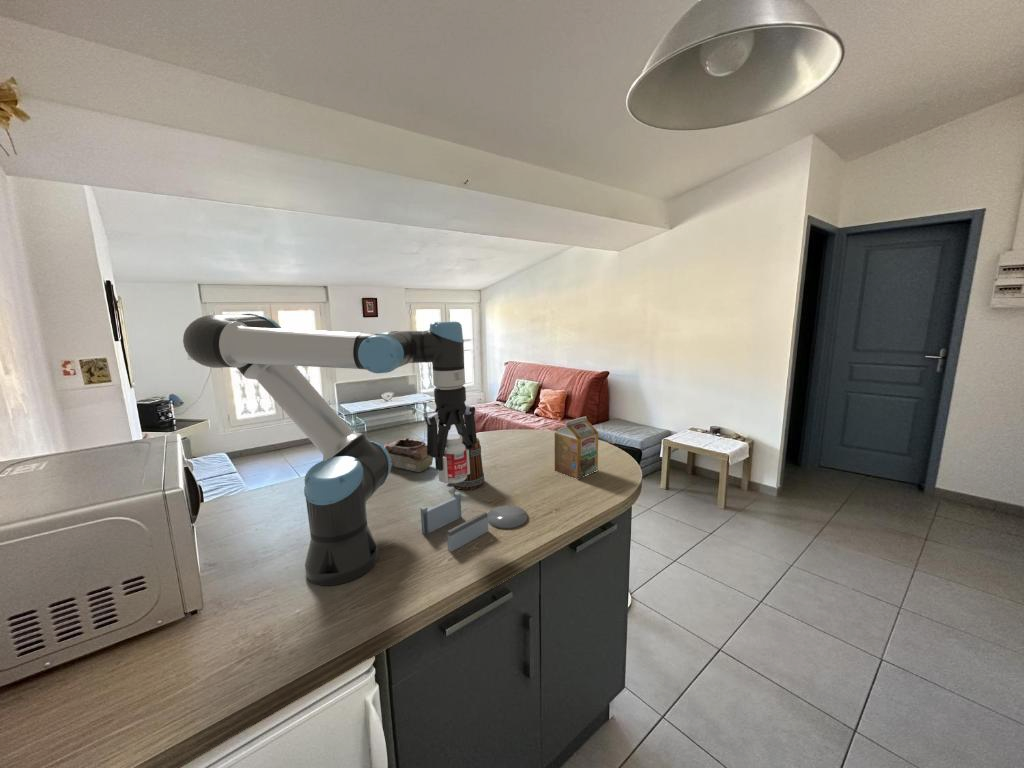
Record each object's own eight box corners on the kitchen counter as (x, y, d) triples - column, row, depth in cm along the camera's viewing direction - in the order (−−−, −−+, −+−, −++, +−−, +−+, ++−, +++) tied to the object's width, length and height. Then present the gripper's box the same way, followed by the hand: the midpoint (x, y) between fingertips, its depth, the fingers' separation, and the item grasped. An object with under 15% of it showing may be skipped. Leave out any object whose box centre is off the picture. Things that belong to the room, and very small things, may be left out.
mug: (486, 477, 134) (485, 435, 132) (481, 491, 124) (479, 445, 121) (442, 476, 136) (440, 434, 133) (433, 489, 126) (430, 445, 123)
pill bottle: (457, 486, 94) (454, 441, 92) (437, 481, 97) (434, 438, 95) (472, 476, 100) (470, 434, 98) (452, 472, 103) (450, 431, 101)
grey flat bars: (451, 552, 92) (449, 524, 91) (422, 533, 101) (420, 508, 99) (488, 531, 101) (487, 505, 100) (458, 515, 109) (457, 492, 108)
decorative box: (409, 480, 134) (407, 452, 132) (371, 468, 145) (369, 443, 143) (436, 467, 144) (435, 442, 143) (399, 457, 155) (398, 433, 154)
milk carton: (577, 480, 131) (577, 425, 127) (554, 470, 139) (554, 418, 135) (597, 471, 137) (598, 419, 134) (574, 463, 145) (575, 413, 142)
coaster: (507, 533, 100) (507, 530, 100) (478, 518, 107) (478, 516, 107) (535, 516, 108) (535, 514, 107) (506, 504, 115) (506, 501, 115)
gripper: (424, 395, 85) (431, 494, 89) (489, 382, 99) (492, 469, 103) (406, 391, 90) (413, 485, 94) (470, 379, 104) (474, 462, 108)
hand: (454, 477), depth 98 cm, fingers closed on pill bottle, 6 cm apart
